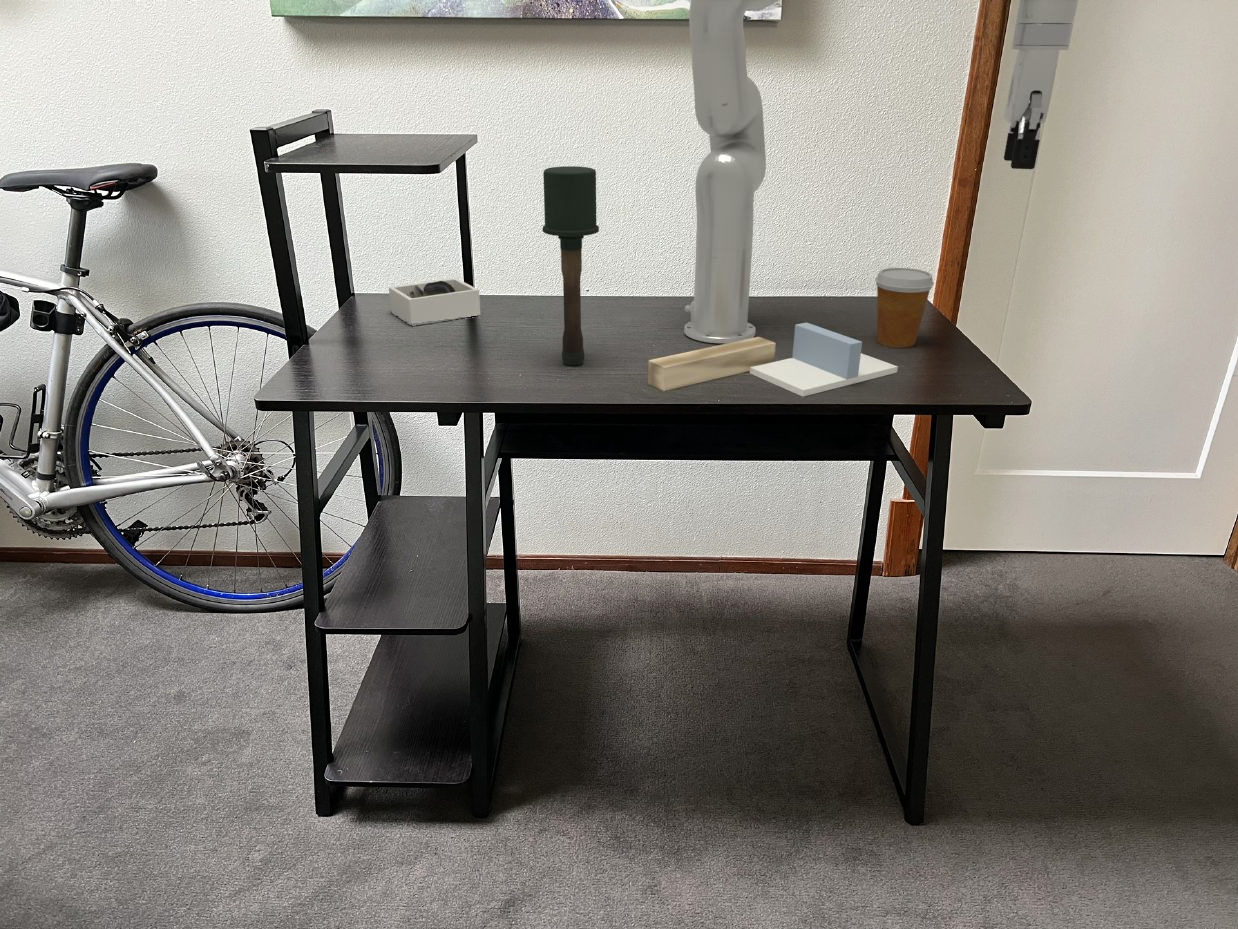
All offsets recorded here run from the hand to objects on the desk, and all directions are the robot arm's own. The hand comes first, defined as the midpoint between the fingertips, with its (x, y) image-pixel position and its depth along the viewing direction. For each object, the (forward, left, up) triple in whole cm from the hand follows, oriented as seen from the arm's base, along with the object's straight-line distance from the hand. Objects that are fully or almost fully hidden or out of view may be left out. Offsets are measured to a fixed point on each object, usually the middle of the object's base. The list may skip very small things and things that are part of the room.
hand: (1018, 164), depth 136 cm
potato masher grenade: (-34, -58, -31) cm, 74 cm away
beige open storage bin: (-72, -66, -31) cm, 102 cm away
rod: (-18, -42, -31) cm, 55 cm away
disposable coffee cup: (-14, -5, -31) cm, 34 cm away
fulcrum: (-9, -27, -31) cm, 42 cm away
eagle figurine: (-72, -66, -31) cm, 102 cm away
